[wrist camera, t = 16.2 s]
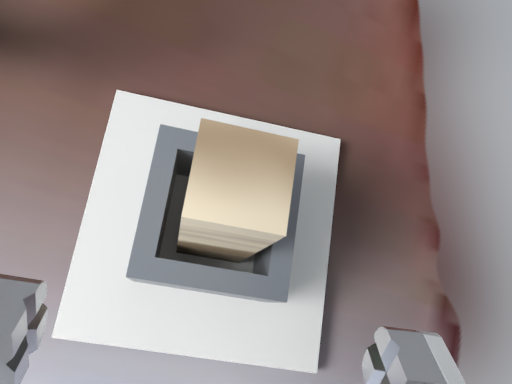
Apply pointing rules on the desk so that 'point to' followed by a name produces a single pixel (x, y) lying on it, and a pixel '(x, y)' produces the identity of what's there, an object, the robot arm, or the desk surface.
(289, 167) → the peg
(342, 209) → the desk surface
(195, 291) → the socket
